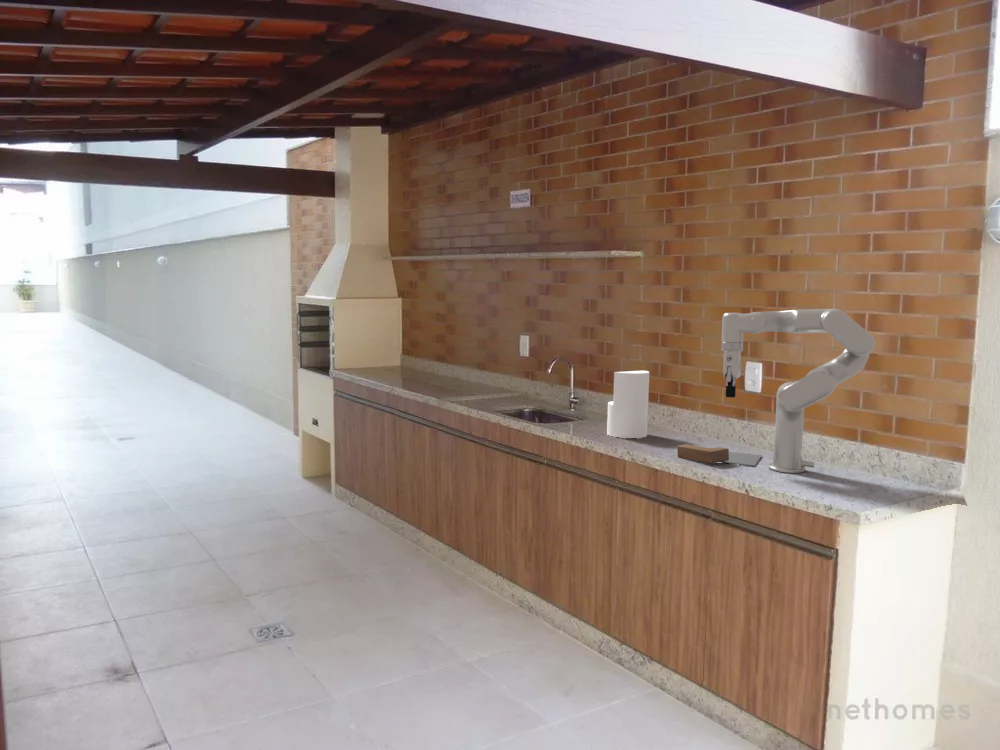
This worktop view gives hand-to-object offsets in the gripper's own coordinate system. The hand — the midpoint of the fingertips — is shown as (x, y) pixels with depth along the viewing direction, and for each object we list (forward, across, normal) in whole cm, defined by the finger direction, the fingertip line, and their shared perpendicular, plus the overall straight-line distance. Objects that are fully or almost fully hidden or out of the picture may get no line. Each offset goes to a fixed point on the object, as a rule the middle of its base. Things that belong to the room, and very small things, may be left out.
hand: (730, 396), depth 299 cm
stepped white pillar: (+25, +40, +50) cm, 68 cm away
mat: (+25, +12, +1) cm, 28 cm away
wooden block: (+22, -2, +2) cm, 22 cm away
